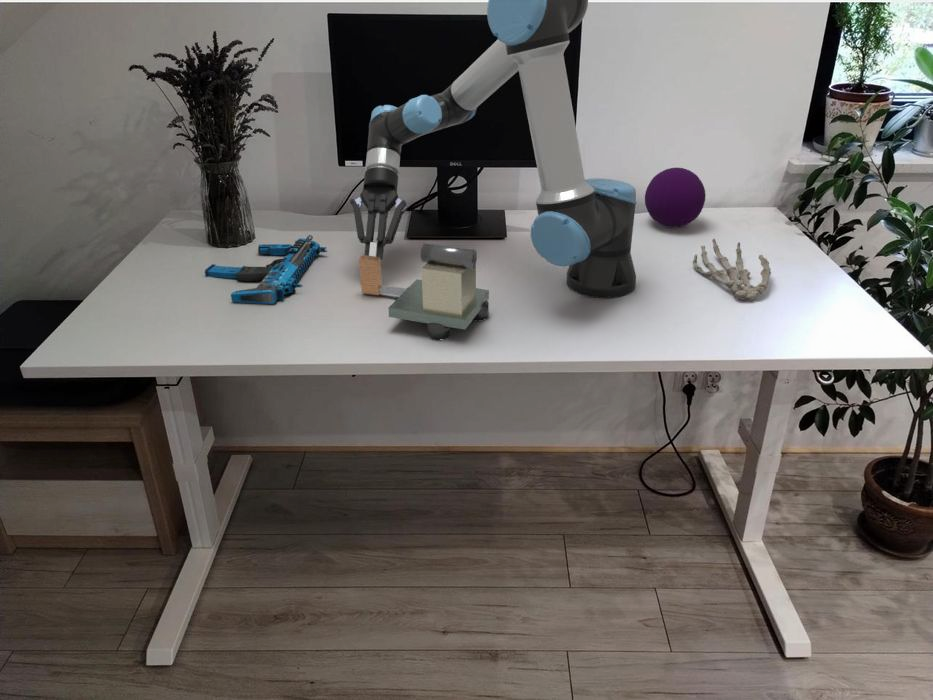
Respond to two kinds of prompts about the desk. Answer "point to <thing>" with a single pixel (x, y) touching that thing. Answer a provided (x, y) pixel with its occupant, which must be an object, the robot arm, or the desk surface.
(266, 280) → the submachine gun
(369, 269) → the footscrew lever
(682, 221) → the toy ball
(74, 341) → the desk surface
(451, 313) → the footed square platform
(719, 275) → the skeleton model
